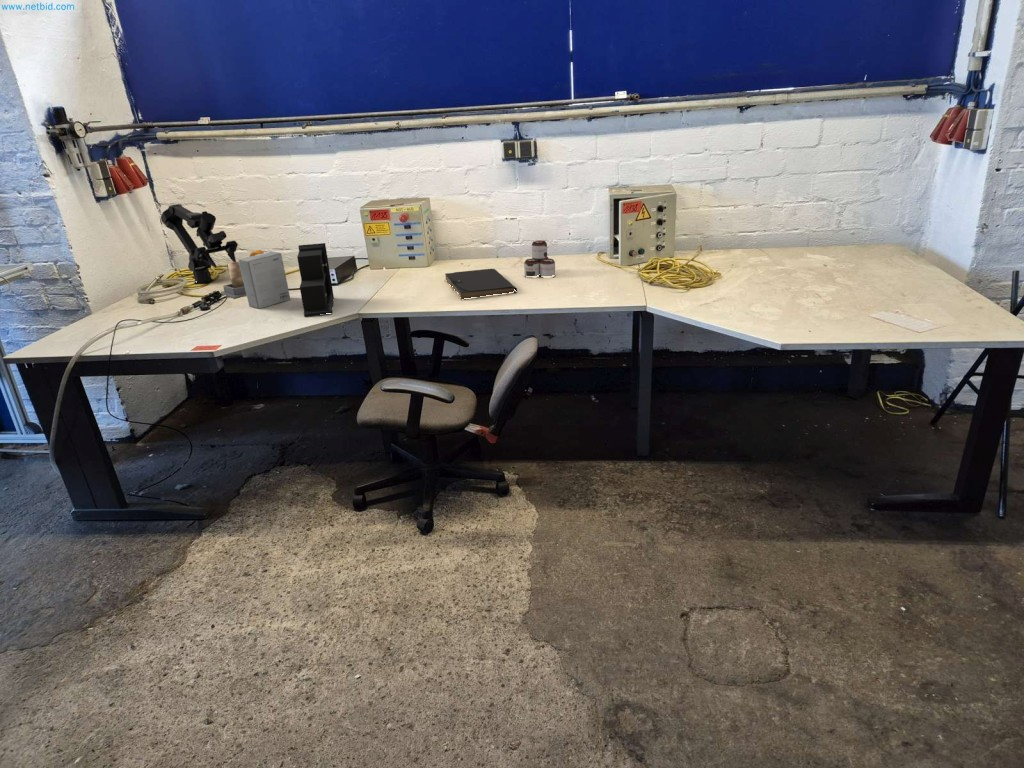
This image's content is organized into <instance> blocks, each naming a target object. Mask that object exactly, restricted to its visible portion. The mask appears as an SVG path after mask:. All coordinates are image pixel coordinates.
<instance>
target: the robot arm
mask: <svg viewBox="0 0 1024 768" xmlns="http://www.w3.org/2000/svg"><path fill="white" fill-rule="evenodd" d="M160 221H161V222H162V224H164V225H165V227H166V228H168V229H170V230H172V231H173V233H175V235H176V237H177V238H178V240H179V241H180V242H181V243H182V245H183V247H184V248H185V250H186V251H187V253H188V266H187V268H188V270H189V271H190V272H192V273H193V277H194V282H195V281H197V283H199V284H200V285H201V284H203V285H204V284H208V283H210V282H212V281H213V280H214V279H213V278H212V275H211V272H210V270H209V269H211V268H216V269H217V267H218V266H217V264H216V263H215V261H214V259H213V258H212V257H211V255H210V254H214V253H219V252H224V251H225V252H226V253H227V256H228V258H230V259H231V261H232V262H237V259H236V256H235V255H236V254H235V252H236V251H237V249H238V246H239V244H238V242H237V240H228V241H226V243H225V245H222V244H223V241H224V240H225V239H226V238H227V234H226V232H225V230H220V231H218V232H215V233H213V229H214V227H215V224H216V221H217V218H216V216H215V215H214V214H212V213H210V212H208V211H207V210H205V211H204V210H203V211H201V212H193V211H191V210H189V209H188V208H186V207H184V206H183V205H182V204H179V203H178V204H170V205H169V206H168V208H167V209H165V210H164V211H162V213H161V216H160ZM183 221H185V222H186V224H187V226H189V228H191V229H196V230H195V231H196V237H199V239H200V240H201V242H202V245H203V246H201V247H198V246H197V244H196V242H195V241H194V240H193V238H192V237H191V235H190V233H189V232H188V230H187V229H186V228H185V226H184V225H183V224H184V223H183Z"/></svg>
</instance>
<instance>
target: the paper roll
mask: <svg viewBox="0 0 1024 768" xmlns="http://www.w3.org/2000/svg"><path fill="white" fill-rule="evenodd" d="M227 268H228V273H229V277H230V281H231V284H232V286H233V288H239V287H243V286H244V282H243V278H242V274H241V270H240V265H239V261H236V262H233V261H232V262H229V263H227Z"/></svg>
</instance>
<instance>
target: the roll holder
mask: <svg viewBox="0 0 1024 768" xmlns="http://www.w3.org/2000/svg"><path fill="white" fill-rule="evenodd" d="M220 292H221V293H222V294H223V295H226V296H225V297H227V298H230V299H238V298H241V297H243V298H244V297H245V296H246V297H247V295H246V291H245V286H243V287H239V288H233V286H232V283H229V284H224V285H223V291H220ZM223 295H222V296H223Z"/></svg>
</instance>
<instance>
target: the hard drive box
mask: <svg viewBox="0 0 1024 768" xmlns="http://www.w3.org/2000/svg"><path fill="white" fill-rule="evenodd" d="M237 262H239V265H240V270H241V274H242V278H243V282H244V286H245V291H246V298H247V302H248V306H249V307H250V308H254V309H258V310H259V309H262V308H267V307H269V306H272V305H277V304H279V303H282V302H287V301H290V300H291V295H290V290H289V286H288V280H287V275H286V271H285V266H284V261H283V255H282V253H280V252H276V251H268V252H264V253H263V254H258V255H254V256H251V257H250V256H248V257H244V258H243V257H242V258H240V259H239V258H238V260H237Z"/></svg>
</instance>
